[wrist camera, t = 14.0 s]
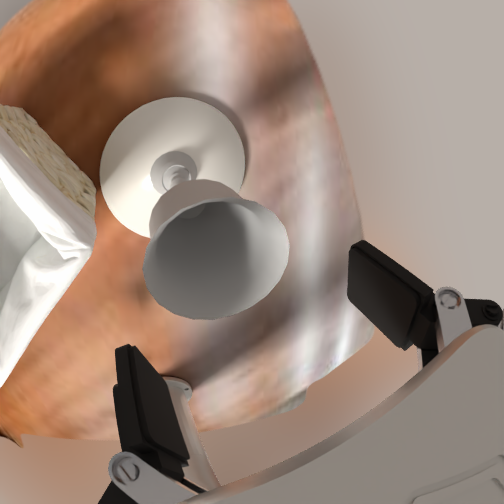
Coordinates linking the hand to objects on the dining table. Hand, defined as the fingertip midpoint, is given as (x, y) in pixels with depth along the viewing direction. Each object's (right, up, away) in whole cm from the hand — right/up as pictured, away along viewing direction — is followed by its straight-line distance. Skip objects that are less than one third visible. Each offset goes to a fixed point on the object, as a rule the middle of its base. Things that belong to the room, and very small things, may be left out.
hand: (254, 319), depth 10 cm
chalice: (-8, +11, +17) cm, 22 cm away
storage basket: (-28, +7, +11) cm, 31 cm away
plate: (-9, +12, +18) cm, 23 cm away
